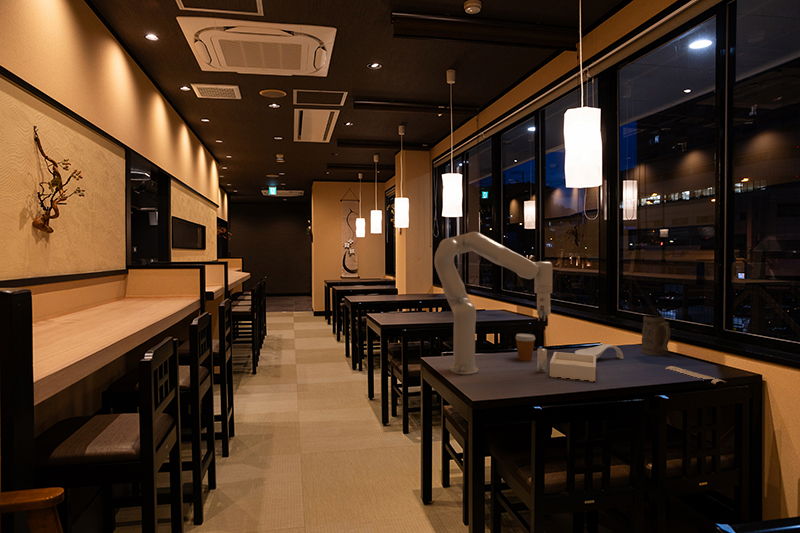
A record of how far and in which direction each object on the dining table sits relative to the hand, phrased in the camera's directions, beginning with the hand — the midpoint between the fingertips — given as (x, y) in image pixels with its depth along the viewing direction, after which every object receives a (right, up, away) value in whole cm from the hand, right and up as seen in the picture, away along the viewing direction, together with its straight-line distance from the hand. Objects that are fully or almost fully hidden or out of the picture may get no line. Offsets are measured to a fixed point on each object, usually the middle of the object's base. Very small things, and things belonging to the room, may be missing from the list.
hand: (543, 327), depth 204 cm
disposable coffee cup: (-2, -19, +22) cm, 29 cm away
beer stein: (+69, -18, +33) cm, 79 cm away
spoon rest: (+35, -19, +24) cm, 47 cm away
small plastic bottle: (0, -20, +1) cm, 20 cm away
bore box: (+13, -20, -1) cm, 24 cm away
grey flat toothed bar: (+65, -21, -4) cm, 68 cm away
